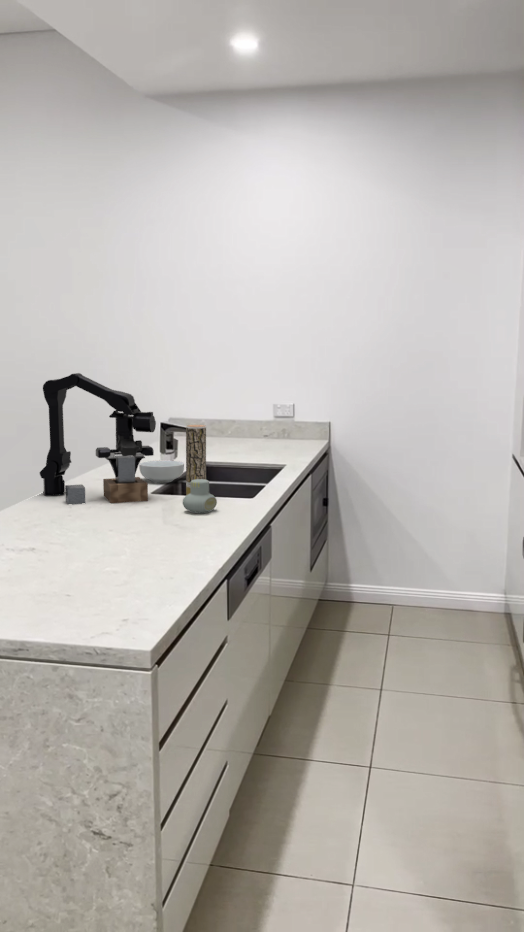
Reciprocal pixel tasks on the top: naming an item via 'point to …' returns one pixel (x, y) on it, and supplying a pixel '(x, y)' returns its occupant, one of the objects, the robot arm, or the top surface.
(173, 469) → the cereal bowl
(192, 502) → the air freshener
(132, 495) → the brown wooden open box
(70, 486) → the gray cube
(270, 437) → the top surface
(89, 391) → the robot arm
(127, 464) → the grey rectangular block
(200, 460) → the bark textured wooden post
